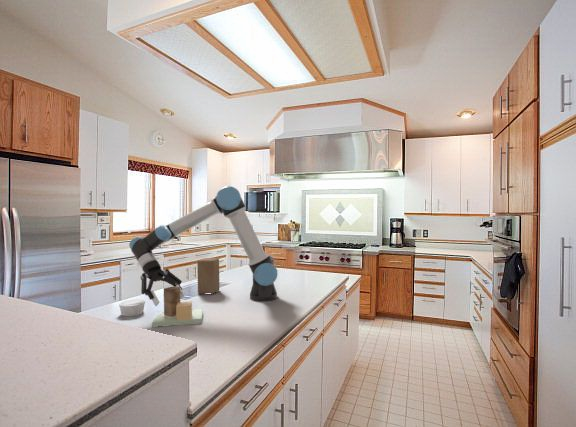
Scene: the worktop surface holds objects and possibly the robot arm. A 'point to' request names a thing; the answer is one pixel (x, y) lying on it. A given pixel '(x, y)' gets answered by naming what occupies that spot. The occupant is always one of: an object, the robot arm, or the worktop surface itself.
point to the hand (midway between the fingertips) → (170, 300)
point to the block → (208, 275)
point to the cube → (184, 310)
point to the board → (167, 320)
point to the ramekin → (132, 307)
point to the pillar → (171, 300)
